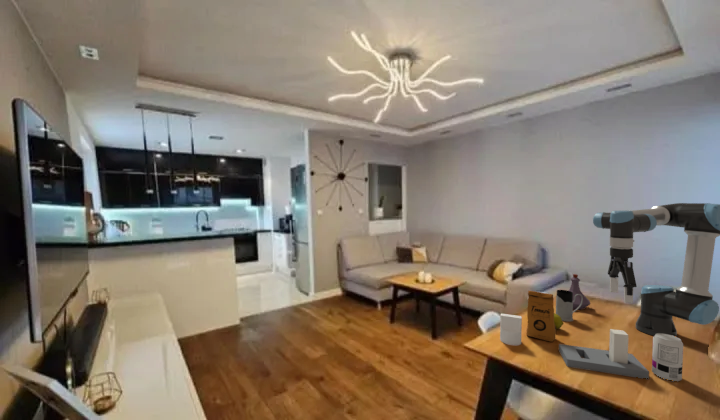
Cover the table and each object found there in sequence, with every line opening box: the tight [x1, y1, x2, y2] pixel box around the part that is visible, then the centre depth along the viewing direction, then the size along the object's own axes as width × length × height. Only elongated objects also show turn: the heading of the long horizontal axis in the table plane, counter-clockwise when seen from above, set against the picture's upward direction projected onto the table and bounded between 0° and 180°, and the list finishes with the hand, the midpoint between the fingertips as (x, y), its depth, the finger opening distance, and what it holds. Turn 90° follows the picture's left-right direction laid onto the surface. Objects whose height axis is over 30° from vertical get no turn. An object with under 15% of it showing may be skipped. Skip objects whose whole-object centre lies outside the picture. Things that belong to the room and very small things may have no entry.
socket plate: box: [558, 343, 650, 380], centre depth 129 cm, size 26×14×3 cm, turn 70°
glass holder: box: [555, 289, 583, 322], centre depth 176 cm, size 9×14×15 cm, turn 88°
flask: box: [567, 273, 591, 311], centre depth 193 cm, size 16×16×20 cm
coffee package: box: [525, 290, 557, 343], centre depth 152 cm, size 10×12×22 cm
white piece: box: [499, 313, 523, 346], centre depth 149 cm, size 9×9×12 cm
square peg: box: [608, 328, 629, 364], centre depth 126 cm, size 4×4×14 cm
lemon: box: [554, 312, 564, 330], centre depth 163 cm, size 11×8×8 cm
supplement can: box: [651, 333, 684, 382], centre depth 119 cm, size 8×8×15 cm
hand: (620, 297), depth 134 cm, fingers open, 13 cm apart
